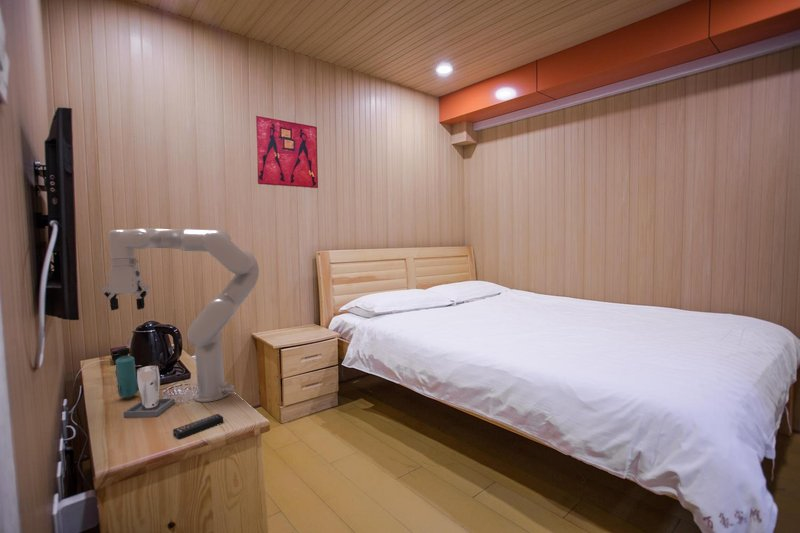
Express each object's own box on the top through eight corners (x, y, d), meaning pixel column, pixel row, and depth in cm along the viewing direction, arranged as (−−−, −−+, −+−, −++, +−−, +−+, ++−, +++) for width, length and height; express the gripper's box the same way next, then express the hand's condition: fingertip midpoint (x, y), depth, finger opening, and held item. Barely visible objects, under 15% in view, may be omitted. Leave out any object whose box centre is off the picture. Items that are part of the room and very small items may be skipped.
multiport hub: (224, 423, 141) (223, 417, 141) (178, 440, 130) (178, 433, 130) (217, 420, 144) (217, 413, 143) (173, 436, 133) (172, 429, 133)
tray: (175, 403, 158) (174, 398, 158) (156, 416, 147) (156, 411, 147) (144, 404, 158) (144, 398, 158) (124, 417, 147) (123, 412, 147)
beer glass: (146, 405, 156) (142, 366, 155) (165, 404, 156) (162, 364, 155) (135, 413, 149) (132, 372, 148) (156, 412, 149) (152, 371, 148)
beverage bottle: (142, 394, 168) (137, 345, 166) (130, 401, 161) (125, 350, 159) (127, 394, 168) (122, 346, 167) (114, 401, 162) (109, 350, 160)
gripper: (153, 261, 158) (157, 306, 159) (107, 263, 158) (111, 308, 159) (140, 263, 150) (144, 310, 152) (92, 264, 150) (97, 312, 152)
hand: (127, 309), depth 156 cm, fingers open, 9 cm apart
